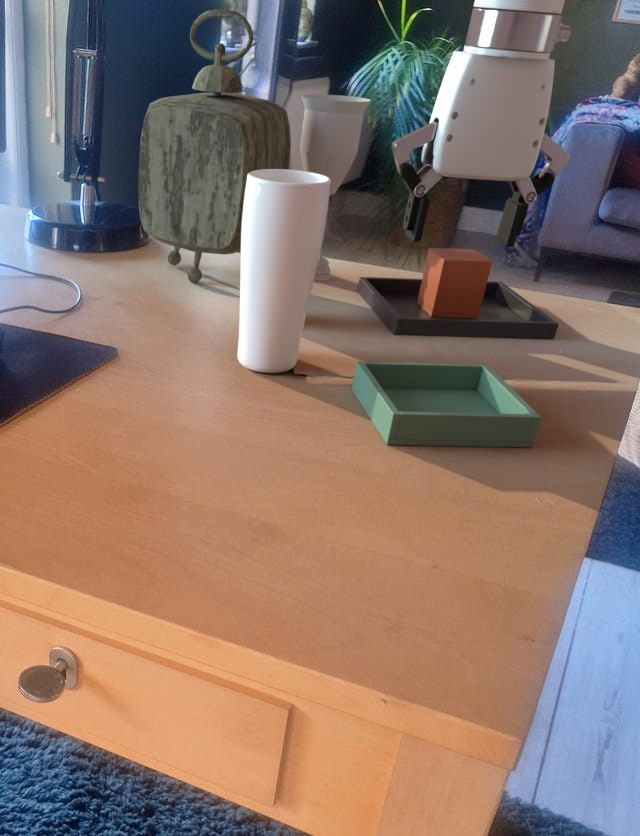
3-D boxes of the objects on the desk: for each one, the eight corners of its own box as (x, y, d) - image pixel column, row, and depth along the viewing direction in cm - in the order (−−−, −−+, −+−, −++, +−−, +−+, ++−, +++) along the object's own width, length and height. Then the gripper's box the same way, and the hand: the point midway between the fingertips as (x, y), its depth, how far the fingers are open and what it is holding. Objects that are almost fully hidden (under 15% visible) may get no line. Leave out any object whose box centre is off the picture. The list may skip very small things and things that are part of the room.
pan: (496, 299, 99) (501, 281, 97) (553, 343, 86) (559, 323, 85) (356, 294, 97) (359, 276, 96) (393, 338, 85) (397, 318, 84)
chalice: (291, 286, 99) (315, 100, 88) (271, 270, 104) (291, 93, 93) (351, 285, 100) (382, 102, 90) (328, 270, 106) (355, 95, 95)
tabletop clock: (276, 282, 100) (308, 14, 85) (240, 299, 94) (268, 13, 79) (167, 260, 106) (180, 5, 91) (127, 275, 99) (133, 4, 84)
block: (461, 304, 95) (475, 249, 91) (477, 318, 91) (492, 261, 87) (416, 303, 94) (428, 247, 91) (430, 317, 90) (444, 259, 87)
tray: (479, 392, 74) (487, 364, 73) (532, 447, 66) (542, 417, 64) (351, 389, 74) (356, 360, 72) (386, 445, 65) (393, 414, 63)
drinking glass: (261, 347, 81) (282, 166, 72) (320, 367, 78) (349, 179, 69) (212, 362, 77) (228, 172, 68) (271, 384, 74) (296, 187, 65)
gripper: (583, 41, 82) (525, 237, 92) (404, 27, 80) (366, 228, 91) (621, 46, 76) (555, 255, 86) (429, 31, 74) (385, 245, 85)
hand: (458, 241), depth 88 cm, fingers open, 9 cm apart
